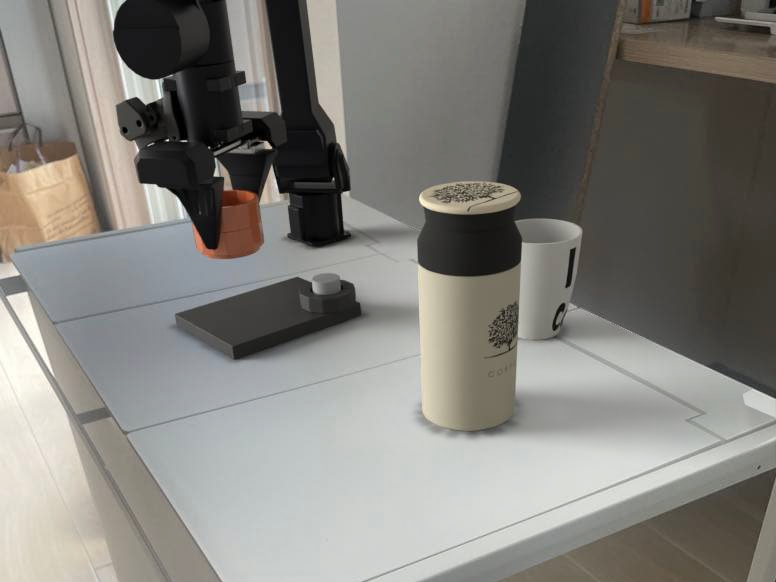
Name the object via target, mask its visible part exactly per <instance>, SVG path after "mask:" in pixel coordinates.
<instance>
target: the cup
mask: <svg viewBox="0 0 776 582" xmlns="http://www.w3.org/2000/svg"><path fill="white" fill-rule="evenodd" d="M514 221H515V223H516V225H517V227H518V230H519V232H520V234H521V236H522V254H521V276H520V299H519V321H518V339H522V340H529V341H541V340H548V339H551V338H553V337H556V336H557V335H558V334H559V332H560V331H561V328H562V325H563V323H564V320H565V318H566V315H567V313H568V310H569V307H570V303H571V299H572V296H573V295H572V294H573V292H574V287H575V283H576V279H577V275H578V266H579V260H580V253H581V245H582V240H583V239H582V238H583V228H582V227H581V226H580V225H578V224H576V223H574V222H571V221H567V220H562V219H555V218H525V219H519V220H514Z"/></svg>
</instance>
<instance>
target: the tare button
mask: <svg viewBox="0 0 776 582" xmlns="http://www.w3.org/2000/svg"><path fill="white" fill-rule="evenodd" d="M340 280H341V276H340V275H339V274H337V273H333V272H332V273H331V272H323V273H318V274H315V275H314V276H312V277H311V282H312V286H313V293H314V294H318V295H329V294H335V293H338V292H341V283H340Z"/></svg>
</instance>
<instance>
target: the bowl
mask: <svg viewBox="0 0 776 582" xmlns="http://www.w3.org/2000/svg"><path fill="white" fill-rule="evenodd" d="M190 222H191V227H192V233H193V237H194V243H195V248H196V250H197V252H199V253H201V254H202V255H203V256H204V257H205V258H209V259H213V260H214V259H215V260H233V259H240V258H244V257H248V256H251V255H253V254H255V253H257V252H259V251H260V249H261V247H262V246H263V245H264V244H265V235H264V228H263V220H262V213H261V205H260V203H259V197H258V195H257V194H256V193H254V192H251V191H246V190H232V189H224V191H223V202H222V214H221V226H220V236H219V243H218V248H217V249H216V250H210V249H207V248H206V247H205V245H204V243H203V241H202V239H201V237H200V235H199V234H198V232H197V230H196V228H195V226H194V224H193V222H192V220H191V219H190Z"/></svg>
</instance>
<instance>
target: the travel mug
mask: <svg viewBox="0 0 776 582" xmlns="http://www.w3.org/2000/svg"><path fill="white" fill-rule="evenodd" d="M521 198H522V194H521V192H520V191H519V190H518V189H517V188H515V187H513V186H511V185H509V184H505V183H500V182H494V181H484V180H483V181H480V180H471V181H470V180H469V181H468V180H466V181H453V182H448V183H446V182H445V183H442V184H437V185H434V186H431V187H428V188H427V189H425V190H423V191H422V192H421V193H420V194H419V198H418V200H419V203H420V204H421V206H422V209H423V213H424V219H425V222H424V224H423V226H422V228H421V229H420V233H419V235H418V237H417V240H416V243H417V244H416V245H417V251H416V252H417V280H418V281H417V283H418V284H417V285H418V286H417V287H418V314H419V315H418V316H419V346H420V347H419V351H420V382H421V383H420V384H421V385H420V386H421V388H420V390H421V412H422V414H423V416H424V417H425V418H426V420H428V421H429V422H431V423H433V424H435V425H437V426H439V427H442V428H445V429H448V430H452V431H453V430H454V431H464V432H476V431H481V430H486V429H491V428H494V427H497V426H500V425H501V424H503V423H505V422H507V421H508V420H509V419H511V417H512V416H513V415H514V413H515V409H516V389H517V388H516V387H517V367H518V363H517V362H518V343H519V342H518V341H519V338H518V321H519V299H520V276H521V254H522V236H521V234H520V232H519V230H518V227H517V225H516V223H515V221H516V220H515V215H516V209H517V206H518V203H519V202H520V201H521Z"/></svg>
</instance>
